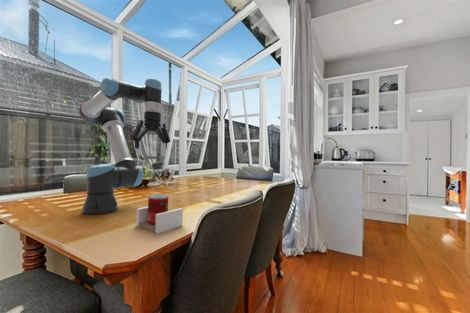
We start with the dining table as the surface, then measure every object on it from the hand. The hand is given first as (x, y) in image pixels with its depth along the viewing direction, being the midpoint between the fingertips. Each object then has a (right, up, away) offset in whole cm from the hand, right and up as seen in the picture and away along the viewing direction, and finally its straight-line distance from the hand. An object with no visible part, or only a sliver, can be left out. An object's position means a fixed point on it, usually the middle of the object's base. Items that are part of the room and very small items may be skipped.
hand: (151, 155), depth 107 cm
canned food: (+9, -28, -15) cm, 33 cm away
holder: (+10, -29, -16) cm, 34 cm away
